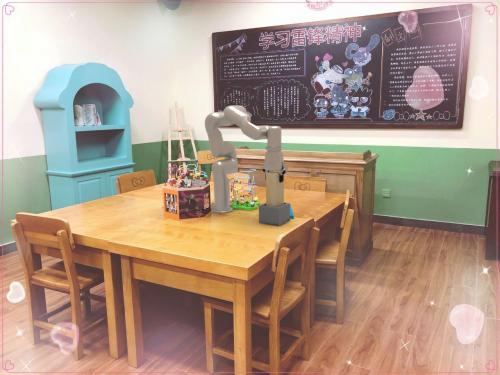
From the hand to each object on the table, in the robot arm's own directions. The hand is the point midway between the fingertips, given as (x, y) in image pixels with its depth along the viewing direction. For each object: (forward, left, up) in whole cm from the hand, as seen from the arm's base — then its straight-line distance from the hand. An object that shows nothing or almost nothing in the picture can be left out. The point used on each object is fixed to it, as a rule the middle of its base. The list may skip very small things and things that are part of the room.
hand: (274, 181), depth 226 cm
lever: (-1, +16, -23) cm, 29 cm away
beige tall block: (0, 0, -16) cm, 16 cm away
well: (0, 0, -23) cm, 23 cm away
